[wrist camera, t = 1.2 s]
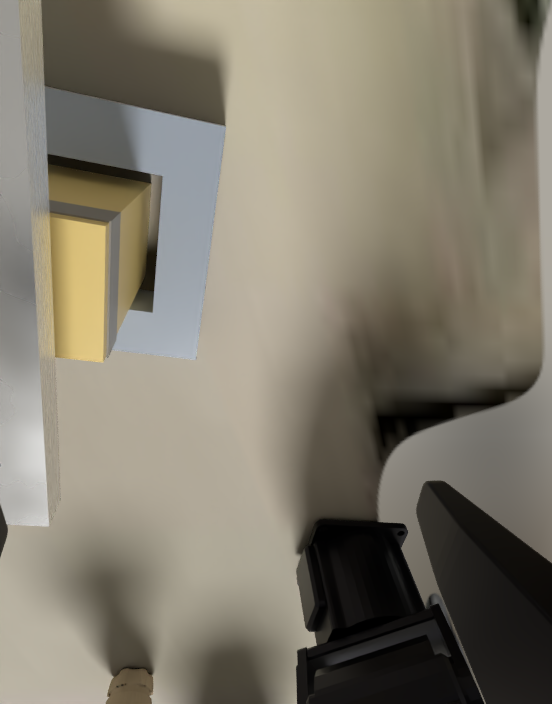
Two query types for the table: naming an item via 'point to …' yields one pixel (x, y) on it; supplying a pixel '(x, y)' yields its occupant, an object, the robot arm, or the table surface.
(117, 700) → the handle
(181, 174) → the socket
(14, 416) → the silver metal plank
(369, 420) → the table surface
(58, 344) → the plug
